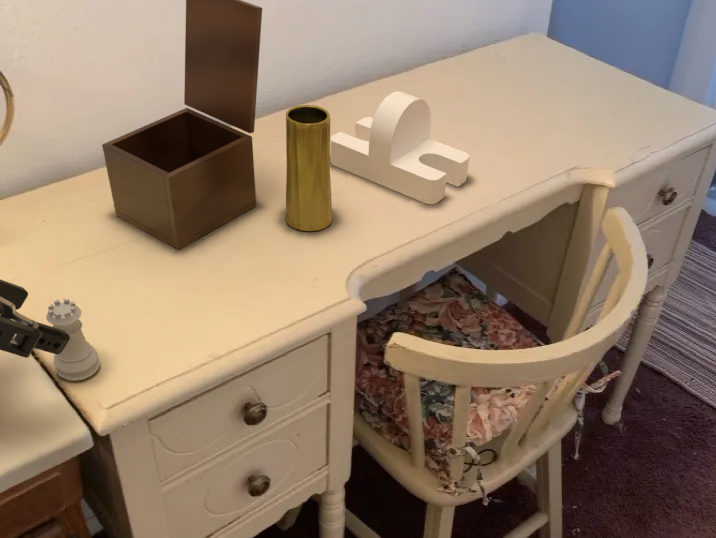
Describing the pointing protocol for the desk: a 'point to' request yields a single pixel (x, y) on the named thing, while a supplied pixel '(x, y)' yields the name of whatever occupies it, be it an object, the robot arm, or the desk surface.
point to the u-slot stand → (400, 151)
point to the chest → (181, 176)
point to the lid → (223, 59)
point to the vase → (308, 168)
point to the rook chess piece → (72, 343)
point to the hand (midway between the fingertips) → (42, 321)
